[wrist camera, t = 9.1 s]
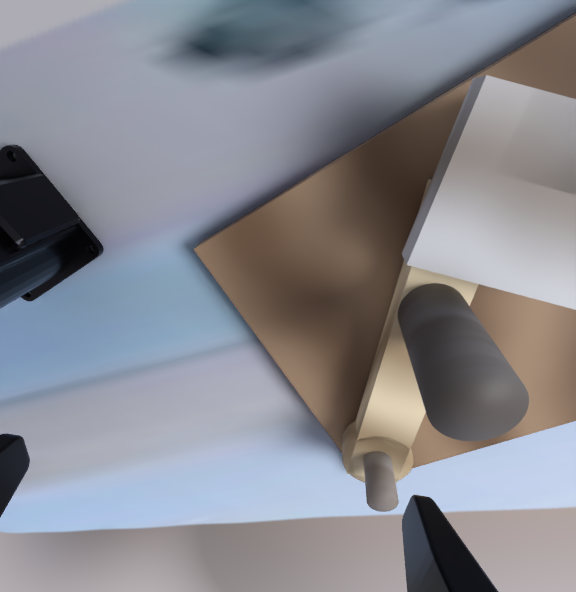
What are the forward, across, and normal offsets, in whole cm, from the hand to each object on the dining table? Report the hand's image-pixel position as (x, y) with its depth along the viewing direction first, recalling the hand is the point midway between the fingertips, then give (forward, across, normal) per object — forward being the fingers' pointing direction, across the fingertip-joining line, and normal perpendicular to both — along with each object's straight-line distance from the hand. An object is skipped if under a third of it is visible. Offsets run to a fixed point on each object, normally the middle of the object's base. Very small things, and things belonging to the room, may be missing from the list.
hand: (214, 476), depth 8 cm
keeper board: (+12, -9, +1) cm, 15 cm away
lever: (+11, -7, +3) cm, 14 cm away
